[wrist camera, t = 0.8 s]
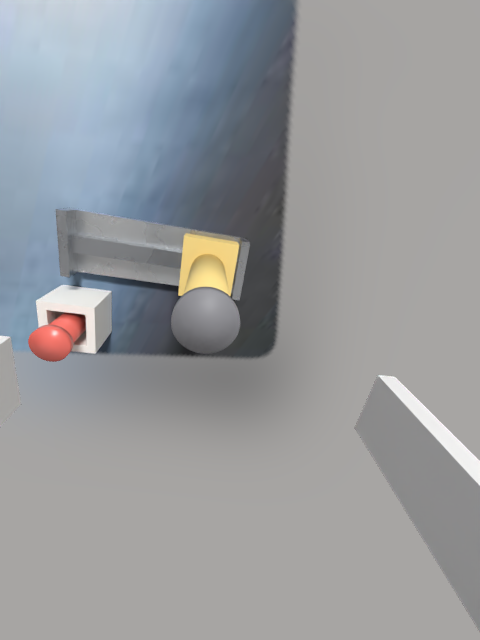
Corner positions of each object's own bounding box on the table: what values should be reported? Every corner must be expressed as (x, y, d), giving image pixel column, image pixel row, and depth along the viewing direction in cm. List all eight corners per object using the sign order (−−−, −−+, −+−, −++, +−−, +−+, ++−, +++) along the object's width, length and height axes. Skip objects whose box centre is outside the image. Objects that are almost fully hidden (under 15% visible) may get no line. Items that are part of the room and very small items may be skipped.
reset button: (58, 334, 29) (30, 359, 24) (55, 305, 27) (26, 326, 23) (91, 337, 29) (70, 363, 25) (90, 309, 28) (68, 330, 23)
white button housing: (65, 328, 32) (41, 350, 27) (62, 284, 30) (35, 300, 25) (111, 333, 33) (95, 355, 28) (111, 291, 31) (94, 307, 26)
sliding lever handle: (181, 285, 30) (156, 362, 16) (186, 231, 28) (163, 267, 14) (227, 292, 31) (241, 370, 17) (236, 240, 28) (260, 282, 15)
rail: (74, 268, 29) (60, 275, 27) (71, 207, 27) (55, 209, 24) (237, 291, 32) (239, 300, 29) (246, 238, 30) (250, 242, 27)
